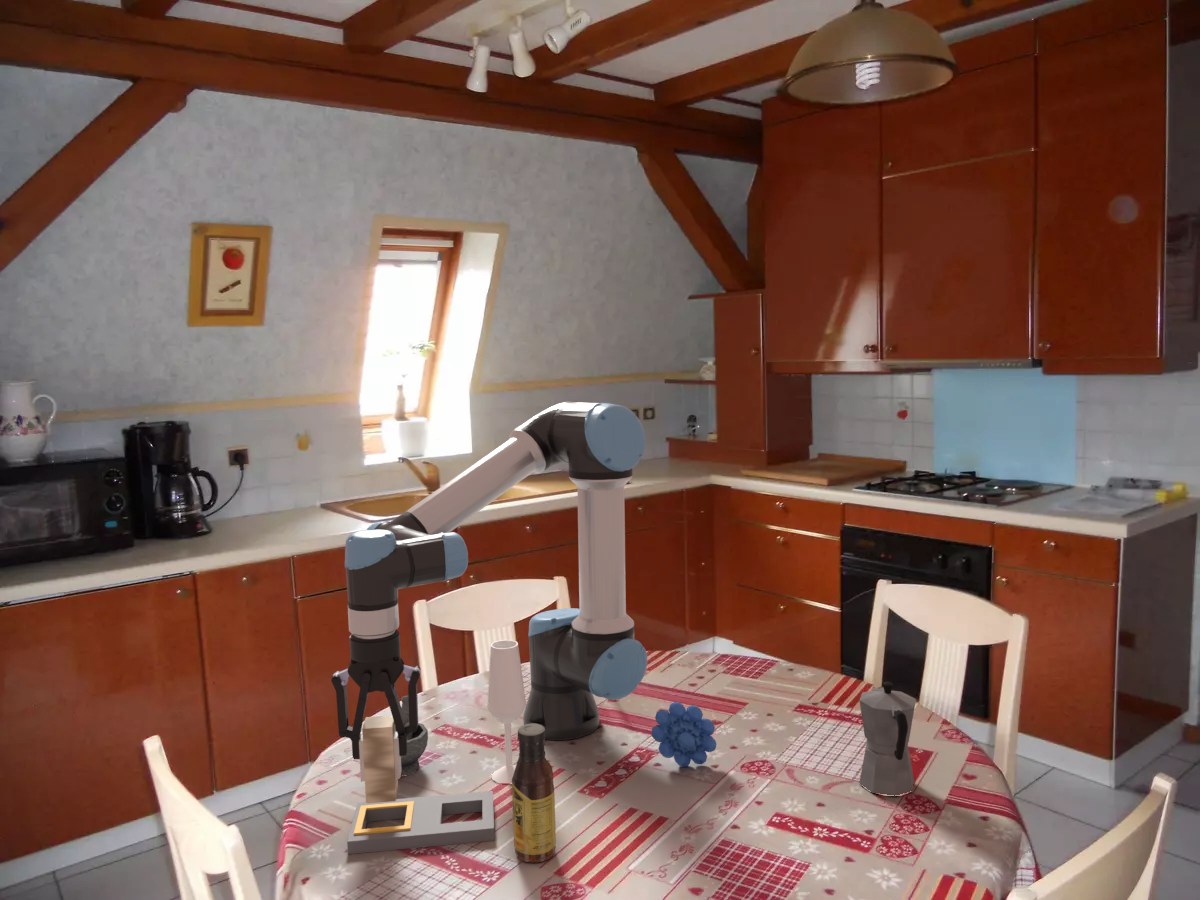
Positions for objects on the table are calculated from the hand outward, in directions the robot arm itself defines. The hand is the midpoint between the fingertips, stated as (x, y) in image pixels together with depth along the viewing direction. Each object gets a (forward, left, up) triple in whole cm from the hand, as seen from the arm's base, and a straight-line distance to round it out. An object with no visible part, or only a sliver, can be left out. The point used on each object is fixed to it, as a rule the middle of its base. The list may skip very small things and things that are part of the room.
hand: (381, 775), depth 145 cm
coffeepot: (-83, +1, -9) cm, 84 cm away
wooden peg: (0, 0, -3) cm, 3 cm away
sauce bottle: (-23, +11, -9) cm, 27 cm away
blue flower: (-51, -12, -9) cm, 53 cm away
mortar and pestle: (-1, -22, -9) cm, 24 cm away
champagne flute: (-20, -15, -9) cm, 27 cm away
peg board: (-6, 0, -9) cm, 11 cm away
